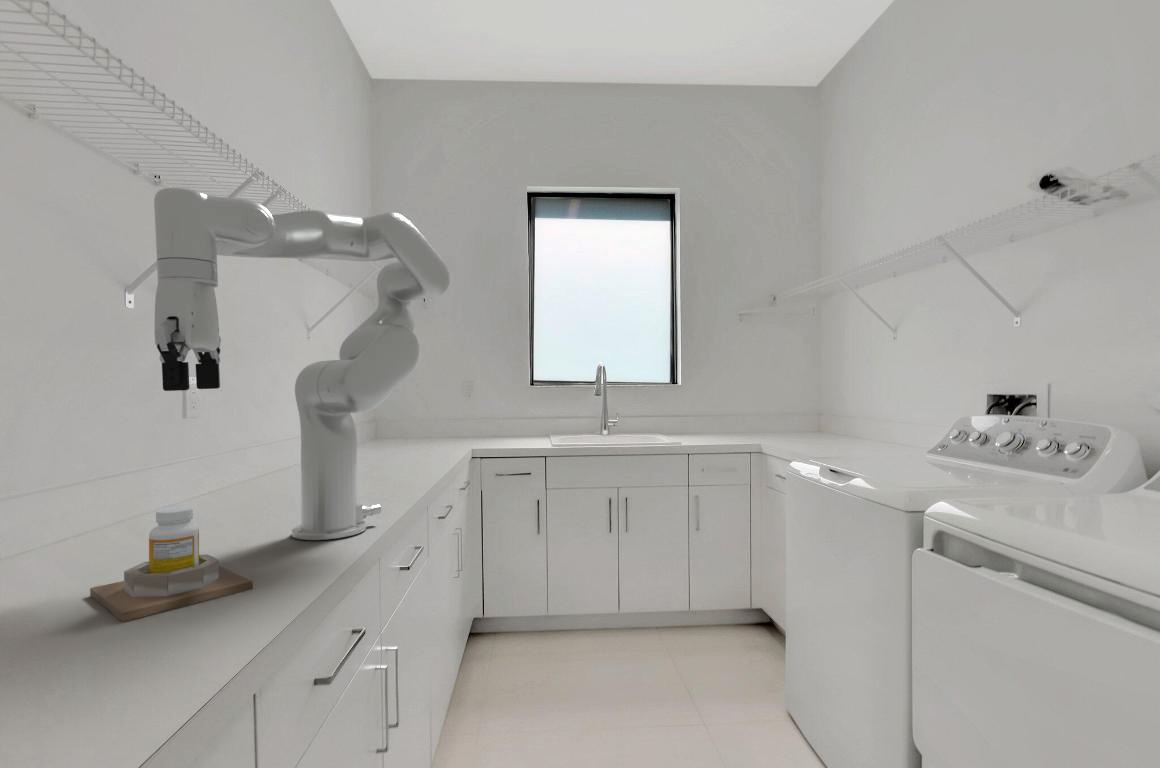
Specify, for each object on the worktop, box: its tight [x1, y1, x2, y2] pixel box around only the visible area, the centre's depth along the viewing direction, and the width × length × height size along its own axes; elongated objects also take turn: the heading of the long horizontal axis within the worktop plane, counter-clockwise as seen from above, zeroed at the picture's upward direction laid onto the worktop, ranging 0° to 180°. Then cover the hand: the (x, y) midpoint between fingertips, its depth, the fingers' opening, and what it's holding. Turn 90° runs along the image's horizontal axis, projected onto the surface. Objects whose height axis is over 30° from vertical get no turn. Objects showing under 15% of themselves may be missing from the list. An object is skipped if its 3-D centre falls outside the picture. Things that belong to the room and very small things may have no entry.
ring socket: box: [89, 554, 254, 623], centre depth 76 cm, size 14×14×4 cm
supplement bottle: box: [148, 506, 200, 574], centre depth 77 cm, size 5×5×10 cm
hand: (193, 389), depth 88 cm, fingers open, 9 cm apart
